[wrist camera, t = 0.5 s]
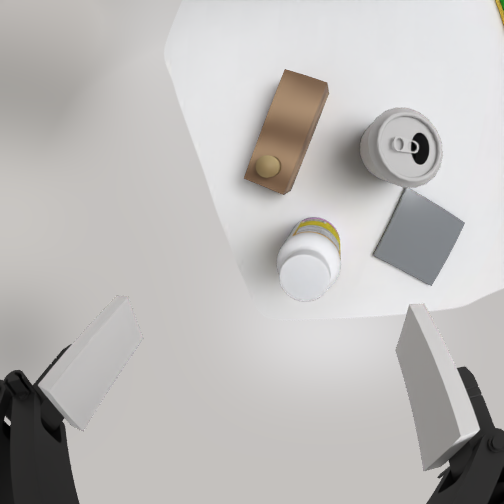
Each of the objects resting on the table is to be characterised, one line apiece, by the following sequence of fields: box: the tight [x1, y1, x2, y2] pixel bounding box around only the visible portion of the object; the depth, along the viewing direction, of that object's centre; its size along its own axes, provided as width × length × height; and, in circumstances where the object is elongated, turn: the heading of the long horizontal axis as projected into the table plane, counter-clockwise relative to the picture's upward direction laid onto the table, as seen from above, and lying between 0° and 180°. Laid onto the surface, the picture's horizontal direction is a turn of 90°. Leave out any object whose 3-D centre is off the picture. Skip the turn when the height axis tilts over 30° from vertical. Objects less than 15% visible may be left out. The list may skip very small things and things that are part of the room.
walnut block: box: [244, 69, 329, 195], centre depth 29 cm, size 14×5×7 cm, turn 161°
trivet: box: [374, 187, 465, 286], centre depth 31 cm, size 10×10×1 cm
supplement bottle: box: [277, 217, 341, 301], centre depth 30 cm, size 7×7×13 cm
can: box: [360, 108, 443, 188], centre depth 24 cm, size 8×8×12 cm
